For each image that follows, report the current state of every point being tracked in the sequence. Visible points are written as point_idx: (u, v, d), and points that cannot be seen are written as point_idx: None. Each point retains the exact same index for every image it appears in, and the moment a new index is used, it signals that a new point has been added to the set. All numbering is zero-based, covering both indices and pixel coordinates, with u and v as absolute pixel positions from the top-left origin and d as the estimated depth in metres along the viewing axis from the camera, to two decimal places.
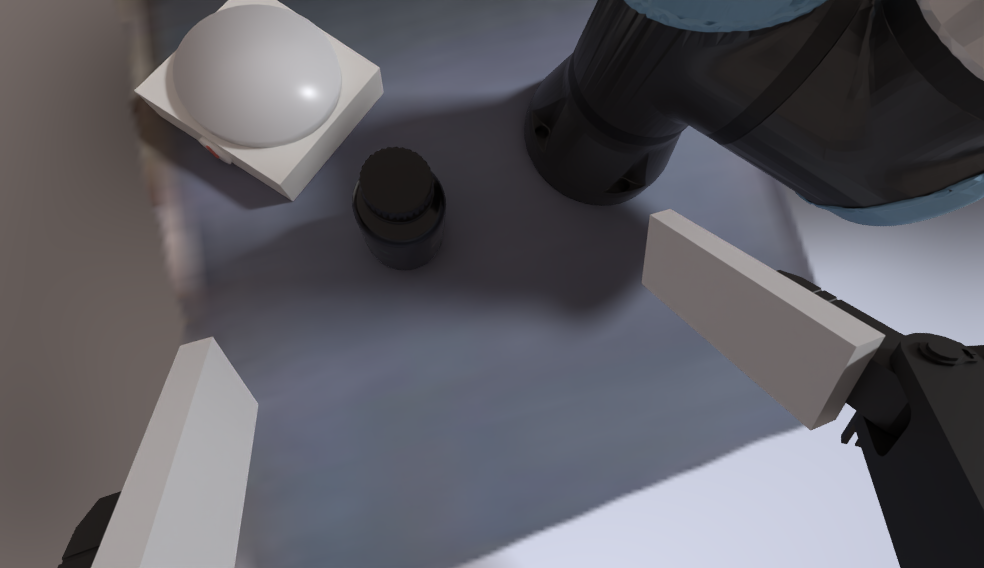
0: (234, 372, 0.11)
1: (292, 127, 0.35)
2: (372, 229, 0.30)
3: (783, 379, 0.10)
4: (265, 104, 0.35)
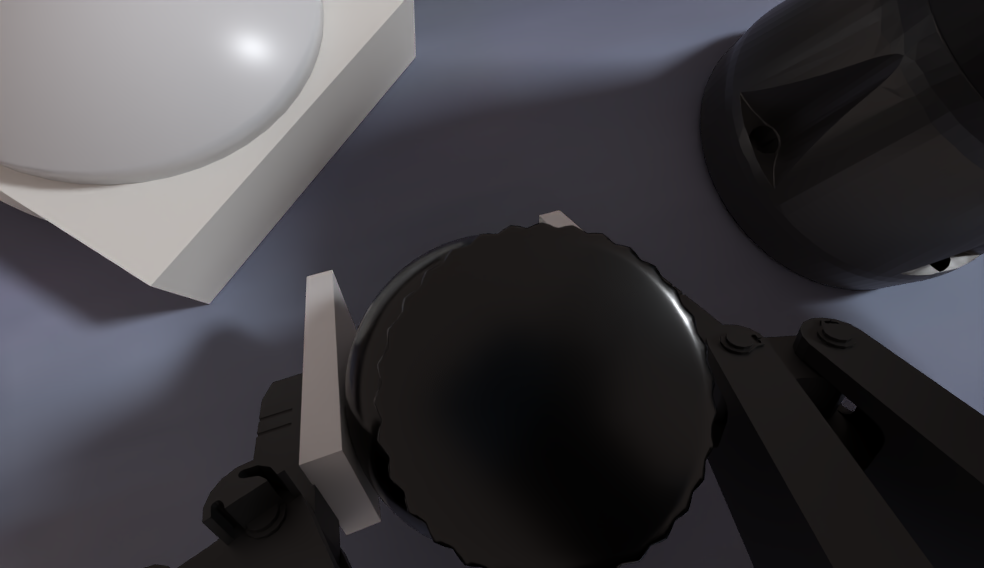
0: (344, 304, 0.13)
1: (186, 130, 0.13)
2: (420, 522, 0.08)
3: None
4: (113, 68, 0.13)
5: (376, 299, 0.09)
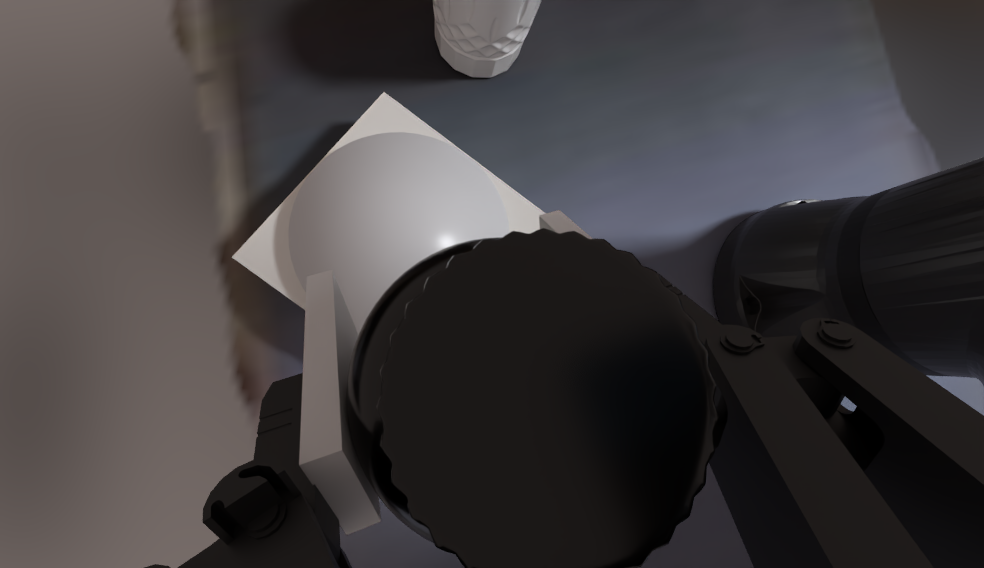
0: (344, 304, 0.13)
1: None
2: (422, 525, 0.08)
3: None
4: None
5: (378, 303, 0.09)
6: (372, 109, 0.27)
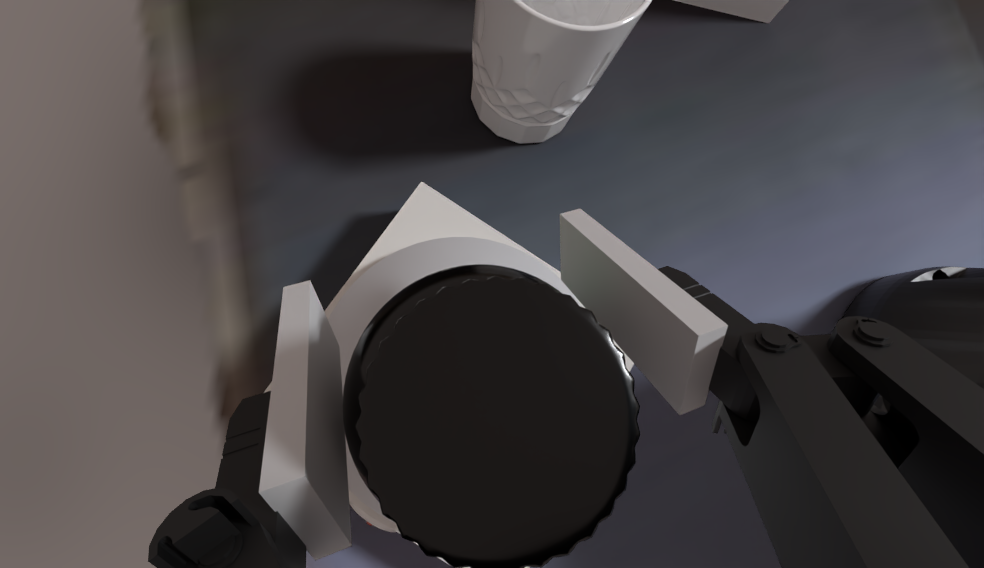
0: (324, 315, 0.13)
1: None
2: None
3: (658, 368, 0.11)
4: None
5: (369, 325, 0.10)
6: (408, 205, 0.21)
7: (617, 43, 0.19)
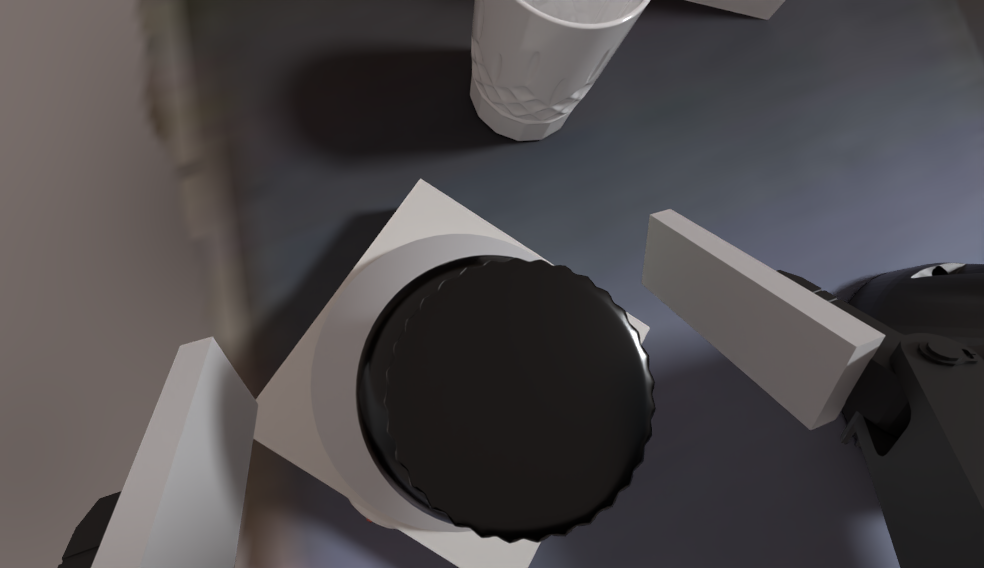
0: (234, 372, 0.11)
1: None
2: (420, 501, 0.09)
3: (783, 379, 0.10)
4: None
5: (382, 313, 0.10)
6: (407, 202, 0.21)
7: (616, 41, 0.19)
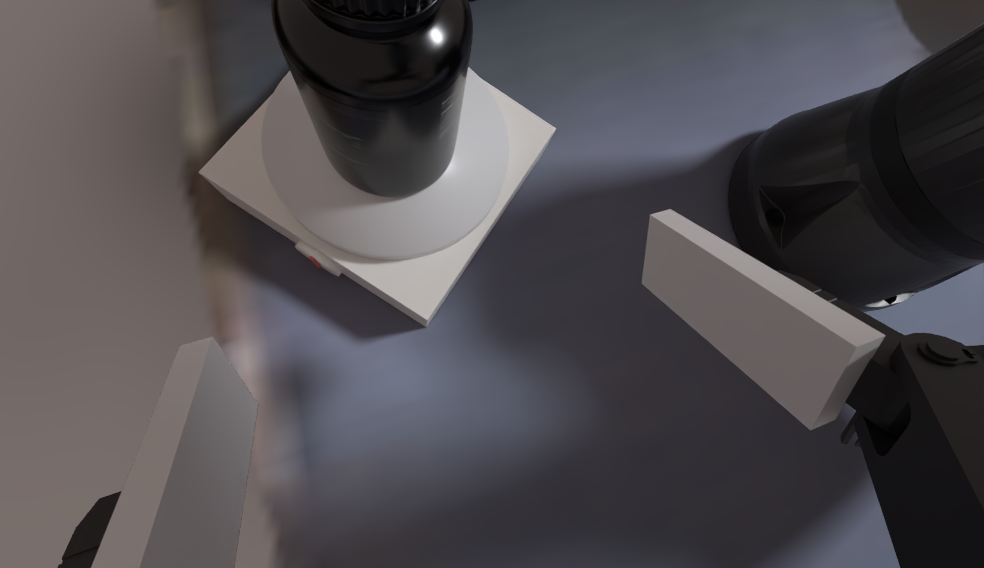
0: (234, 373, 0.11)
1: (447, 229, 0.22)
2: (312, 57, 0.13)
3: (783, 379, 0.10)
4: None
5: None
6: None
7: None
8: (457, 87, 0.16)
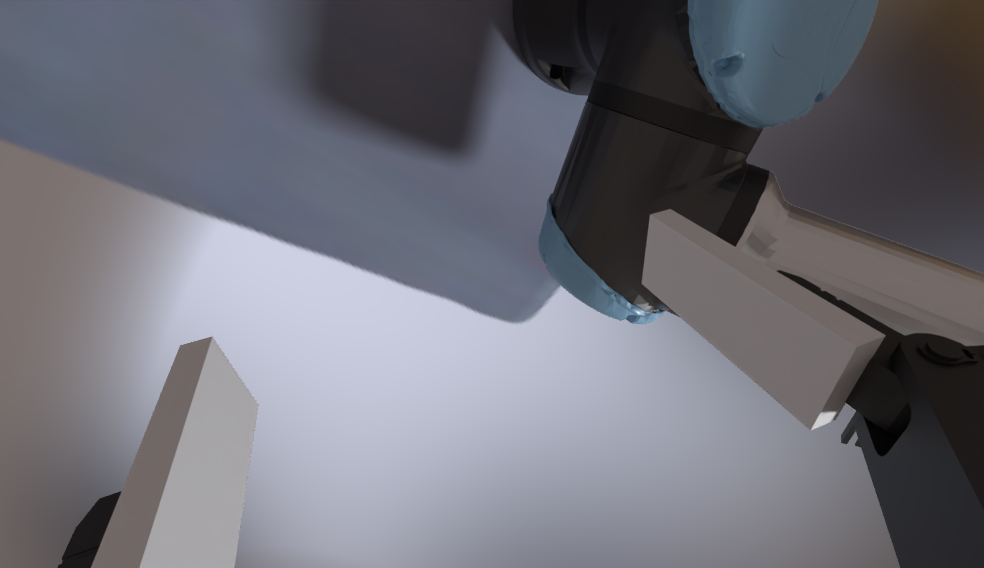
0: (234, 372, 0.11)
1: None
2: None
3: (783, 379, 0.10)
4: None
5: None
6: None
7: None
8: None
